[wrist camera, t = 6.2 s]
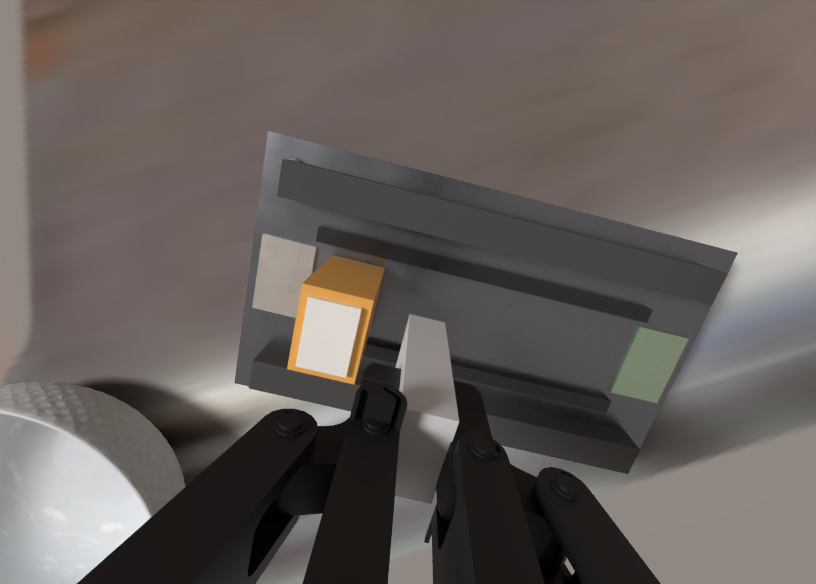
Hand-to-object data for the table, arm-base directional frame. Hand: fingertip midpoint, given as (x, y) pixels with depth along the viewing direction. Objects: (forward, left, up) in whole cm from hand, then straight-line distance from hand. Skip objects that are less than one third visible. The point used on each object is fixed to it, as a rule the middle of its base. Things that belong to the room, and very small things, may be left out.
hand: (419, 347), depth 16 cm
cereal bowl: (+19, -20, -10) cm, 29 cm away
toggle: (+1, -4, -6) cm, 7 cm away
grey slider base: (+1, +3, -10) cm, 10 cm away
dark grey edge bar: (+6, +3, -7) cm, 9 cm away
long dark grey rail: (-5, +3, -7) cm, 9 cm away
